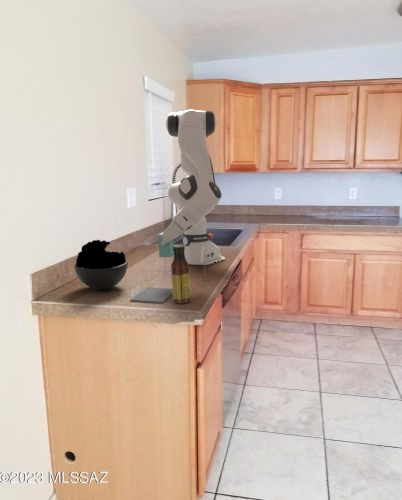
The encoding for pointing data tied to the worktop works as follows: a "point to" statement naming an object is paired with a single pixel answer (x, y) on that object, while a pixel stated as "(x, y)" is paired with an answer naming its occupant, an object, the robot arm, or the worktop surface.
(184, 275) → the sauce bottle
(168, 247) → the teal block
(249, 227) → the worktop surface
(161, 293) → the rubber mat
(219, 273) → the worktop surface
